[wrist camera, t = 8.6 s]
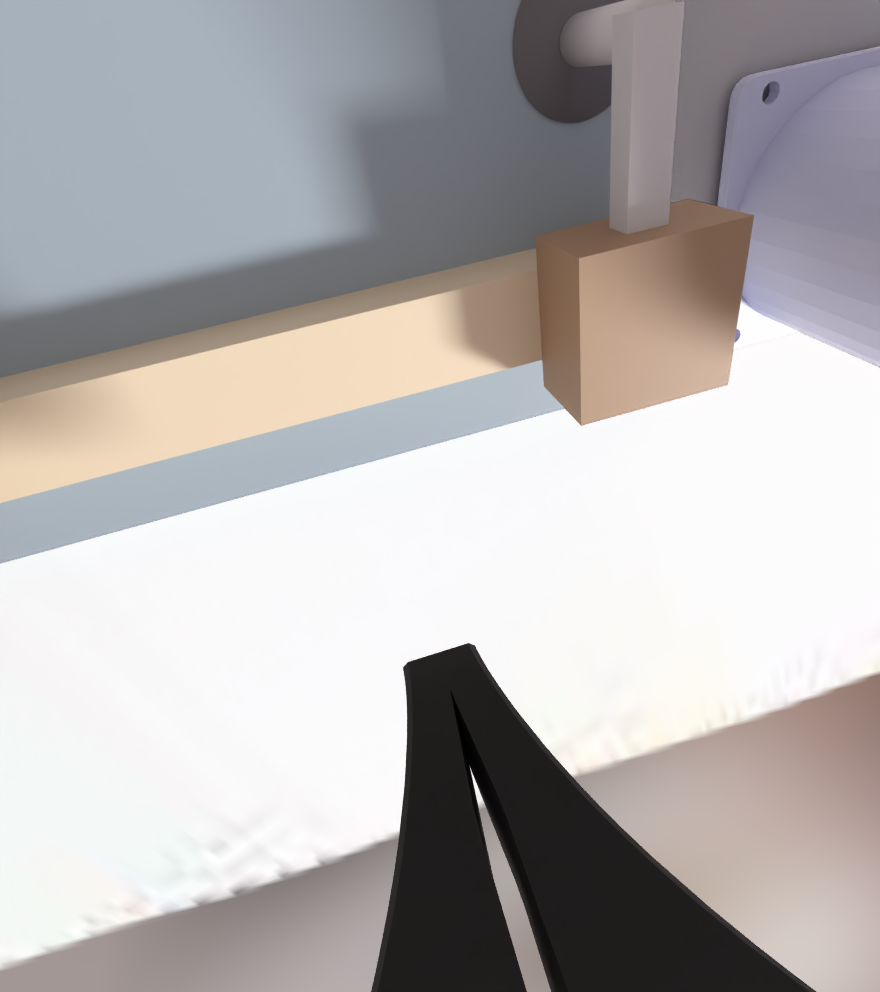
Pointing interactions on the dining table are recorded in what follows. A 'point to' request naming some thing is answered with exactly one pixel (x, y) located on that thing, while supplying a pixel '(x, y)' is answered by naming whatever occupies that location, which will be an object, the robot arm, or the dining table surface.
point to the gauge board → (332, 241)
